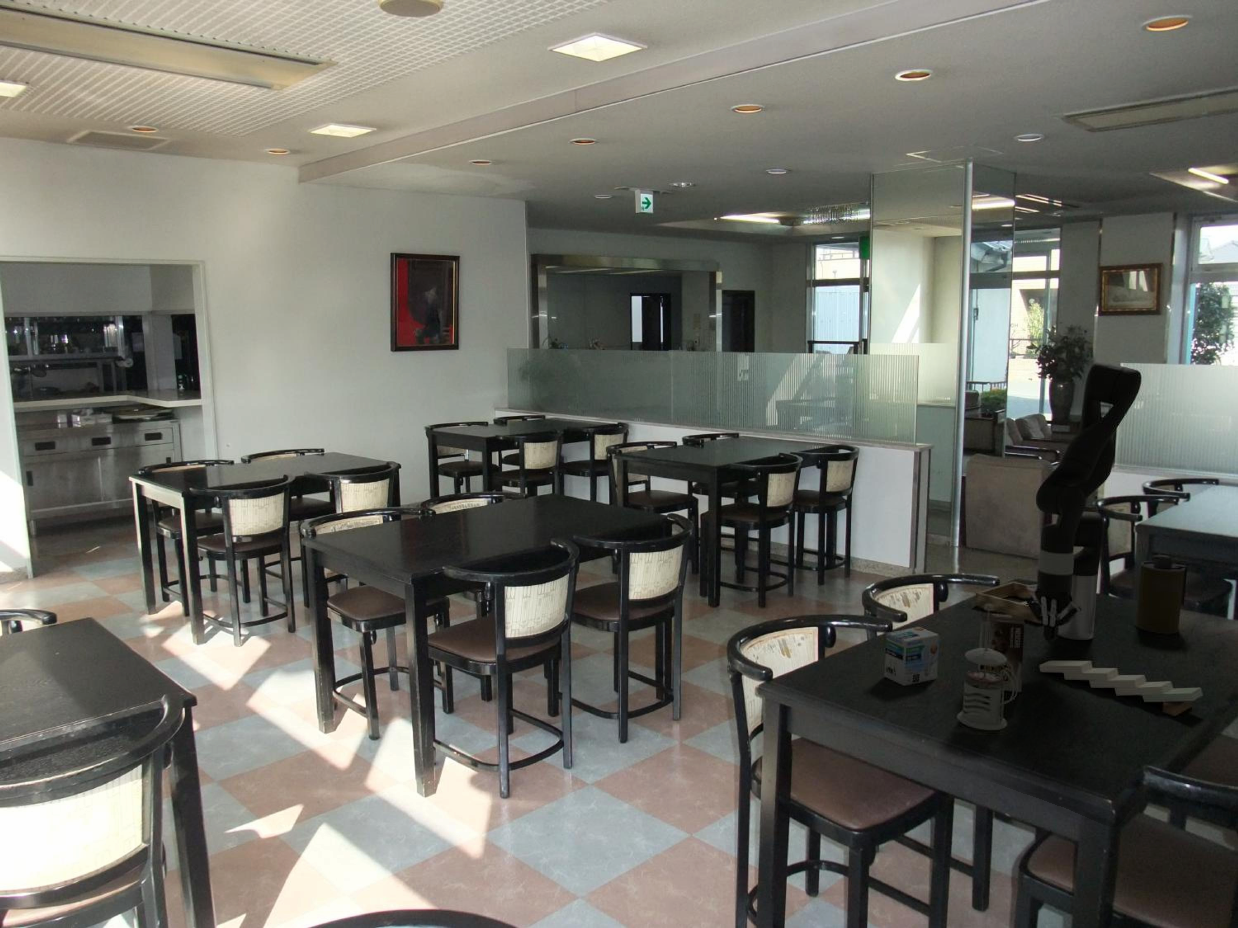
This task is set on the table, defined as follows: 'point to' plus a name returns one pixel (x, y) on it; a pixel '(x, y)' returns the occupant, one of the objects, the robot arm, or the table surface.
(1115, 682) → the domino
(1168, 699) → the sage domino
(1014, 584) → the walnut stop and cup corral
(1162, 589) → the canister
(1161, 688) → the domino
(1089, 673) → the domino
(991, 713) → the french press
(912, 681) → the light bulb box
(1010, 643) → the coffee box
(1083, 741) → the table surface
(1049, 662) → the domino
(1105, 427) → the robot arm
